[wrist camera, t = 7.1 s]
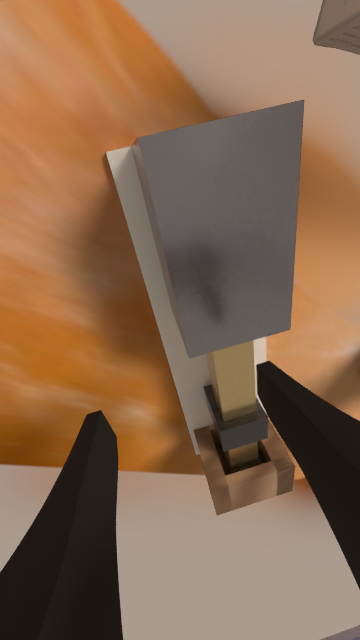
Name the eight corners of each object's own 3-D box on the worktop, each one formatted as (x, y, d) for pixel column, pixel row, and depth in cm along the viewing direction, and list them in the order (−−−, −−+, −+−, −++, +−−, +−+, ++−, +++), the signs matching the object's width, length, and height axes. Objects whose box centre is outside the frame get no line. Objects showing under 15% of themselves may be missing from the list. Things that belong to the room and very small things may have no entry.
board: (261, 116, 14) (264, 115, 14) (265, 430, 32) (266, 433, 31) (105, 152, 14) (105, 151, 14) (195, 452, 31) (196, 455, 31)
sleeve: (240, 120, 14) (304, 99, 9) (248, 288, 20) (290, 329, 15) (131, 146, 14) (137, 137, 9) (172, 309, 19) (189, 358, 15)
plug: (236, 286, 19) (267, 320, 15) (247, 432, 30) (267, 474, 26) (185, 300, 19) (203, 338, 15) (214, 442, 29) (229, 486, 25)
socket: (262, 409, 28) (295, 466, 23) (262, 434, 31) (292, 490, 26) (193, 430, 28) (210, 493, 23) (200, 453, 31) (216, 515, 25)
